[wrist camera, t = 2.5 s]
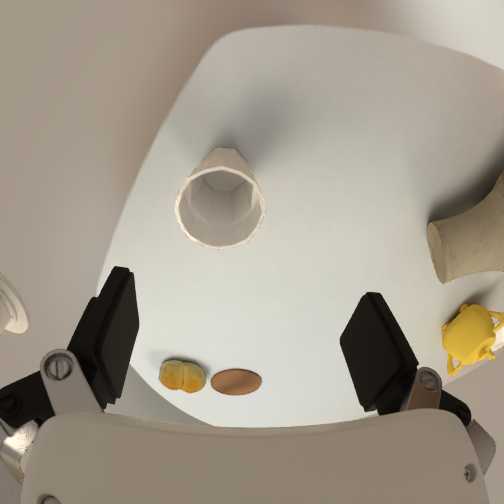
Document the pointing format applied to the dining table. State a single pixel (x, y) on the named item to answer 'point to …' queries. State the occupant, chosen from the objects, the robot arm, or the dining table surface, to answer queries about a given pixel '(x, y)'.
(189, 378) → the bread roll
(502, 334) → the dish
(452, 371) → the teapot
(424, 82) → the dining table surface
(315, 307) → the dining table surface
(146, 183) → the dining table surface
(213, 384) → the coaster
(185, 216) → the cup
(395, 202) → the dining table surface
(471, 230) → the vase
